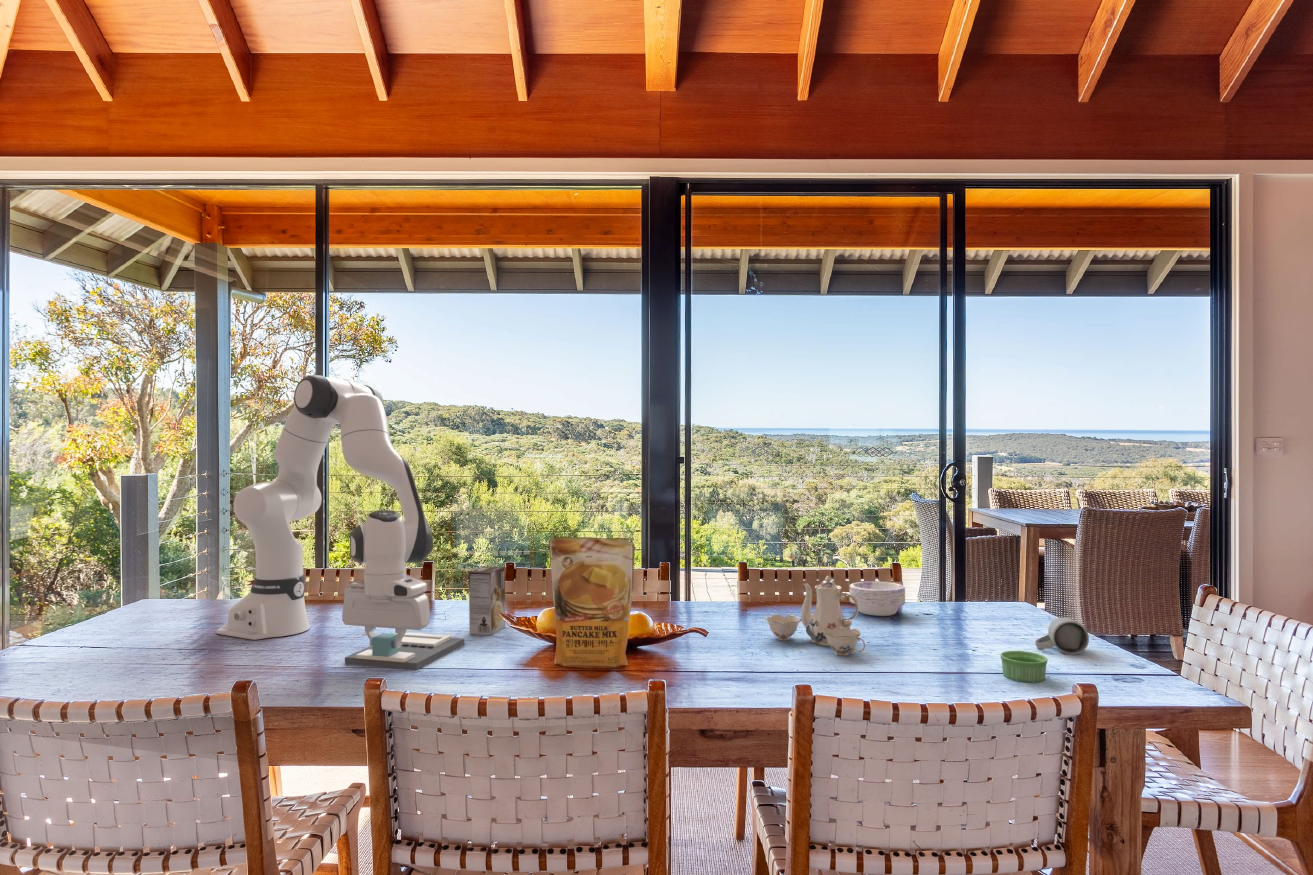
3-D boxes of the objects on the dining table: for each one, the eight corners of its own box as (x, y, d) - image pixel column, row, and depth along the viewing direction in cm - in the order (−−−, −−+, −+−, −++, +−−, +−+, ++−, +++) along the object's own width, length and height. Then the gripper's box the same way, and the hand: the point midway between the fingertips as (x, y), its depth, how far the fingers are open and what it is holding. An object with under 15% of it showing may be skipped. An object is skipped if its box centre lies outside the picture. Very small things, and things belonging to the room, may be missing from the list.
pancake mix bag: (552, 658, 179) (551, 535, 179) (635, 660, 178) (635, 536, 178) (545, 667, 173) (545, 539, 172) (632, 669, 171) (631, 540, 171)
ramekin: (1033, 670, 170) (1033, 650, 170) (1056, 683, 161) (1056, 662, 161) (992, 670, 170) (992, 650, 170) (1013, 684, 161) (1013, 662, 161)
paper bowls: (861, 604, 235) (861, 578, 234) (912, 611, 226) (912, 583, 226) (841, 614, 222) (841, 586, 222) (894, 621, 213) (894, 592, 213)
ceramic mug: (1080, 646, 188) (1079, 614, 188) (1089, 655, 180) (1089, 622, 180) (1031, 644, 191) (1031, 612, 191) (1039, 653, 183) (1038, 620, 183)
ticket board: (344, 663, 175) (344, 653, 175) (399, 639, 196) (399, 630, 196) (416, 670, 171) (416, 658, 171) (464, 644, 191) (464, 634, 191)
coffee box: (483, 625, 210) (483, 565, 210) (506, 626, 209) (505, 566, 208) (468, 634, 201) (468, 571, 201) (492, 635, 200) (491, 572, 200)
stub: (356, 658, 174) (355, 636, 174) (368, 652, 179) (368, 631, 179) (403, 662, 171) (403, 640, 171) (415, 656, 175) (415, 635, 175)
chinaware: (754, 646, 196) (750, 580, 194) (792, 626, 208) (788, 565, 206) (856, 668, 176) (852, 596, 175) (891, 646, 188) (887, 578, 187)
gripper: (335, 585, 174) (335, 647, 174) (418, 589, 169) (418, 653, 169) (353, 579, 180) (353, 640, 181) (433, 584, 175) (433, 646, 175)
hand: (385, 646), depth 175 cm, fingers closed on stub, 4 cm apart
